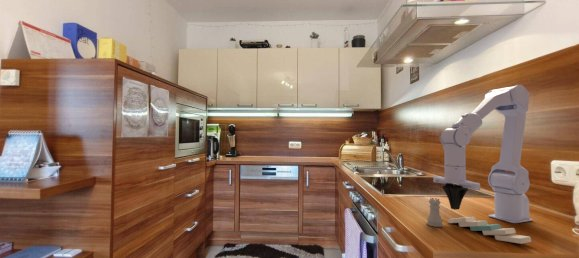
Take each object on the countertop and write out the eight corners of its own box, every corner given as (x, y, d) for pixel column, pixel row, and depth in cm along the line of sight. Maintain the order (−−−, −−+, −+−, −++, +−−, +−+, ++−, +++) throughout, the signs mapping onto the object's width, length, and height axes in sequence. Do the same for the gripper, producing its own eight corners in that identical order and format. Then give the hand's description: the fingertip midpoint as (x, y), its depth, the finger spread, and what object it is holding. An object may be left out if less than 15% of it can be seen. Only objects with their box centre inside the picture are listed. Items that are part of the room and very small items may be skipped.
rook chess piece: (445, 228, 78) (445, 201, 79) (429, 227, 79) (429, 200, 79) (440, 223, 83) (439, 197, 83) (424, 222, 84) (424, 196, 84)
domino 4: (491, 228, 75) (514, 228, 70) (493, 233, 74) (516, 232, 69) (482, 230, 73) (504, 229, 68) (483, 235, 73) (506, 234, 68)
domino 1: (457, 218, 85) (474, 216, 79) (458, 222, 84) (476, 220, 79) (448, 219, 83) (464, 217, 78) (449, 223, 83) (466, 222, 78)
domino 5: (504, 233, 72) (530, 236, 66) (505, 237, 71) (531, 241, 66) (494, 234, 70) (520, 238, 65) (495, 239, 70) (521, 243, 65)
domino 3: (479, 225, 78) (499, 223, 73) (481, 229, 78) (501, 228, 72) (469, 226, 77) (489, 225, 71) (471, 231, 76) (491, 230, 71)
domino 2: (468, 221, 81) (486, 220, 76) (469, 225, 81) (488, 224, 76) (458, 222, 80) (476, 221, 75) (459, 226, 80) (477, 226, 74)
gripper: (426, 163, 89) (426, 204, 89) (467, 168, 76) (468, 216, 75) (441, 163, 92) (442, 202, 91) (485, 168, 78) (485, 214, 77)
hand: (455, 208), depth 83 cm, fingers closed
